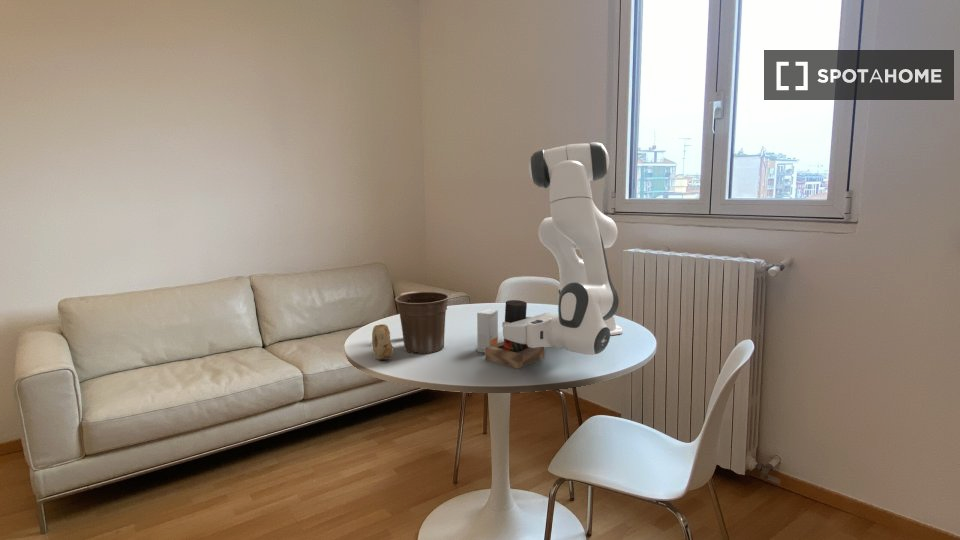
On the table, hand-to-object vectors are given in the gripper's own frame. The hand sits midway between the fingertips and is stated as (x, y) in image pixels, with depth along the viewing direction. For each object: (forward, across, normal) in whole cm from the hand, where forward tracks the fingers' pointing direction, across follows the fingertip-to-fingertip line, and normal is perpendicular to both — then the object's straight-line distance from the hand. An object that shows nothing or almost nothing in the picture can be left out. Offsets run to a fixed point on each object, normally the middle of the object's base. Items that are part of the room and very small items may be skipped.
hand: (512, 321), depth 154 cm
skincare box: (+11, -1, +11) cm, 15 cm away
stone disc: (+28, +26, +11) cm, 39 cm away
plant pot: (+27, +11, +11) cm, 31 cm away
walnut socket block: (-1, 0, +11) cm, 11 cm away
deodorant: (0, 0, +9) cm, 9 cm away
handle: (+38, +6, +11) cm, 40 cm away
